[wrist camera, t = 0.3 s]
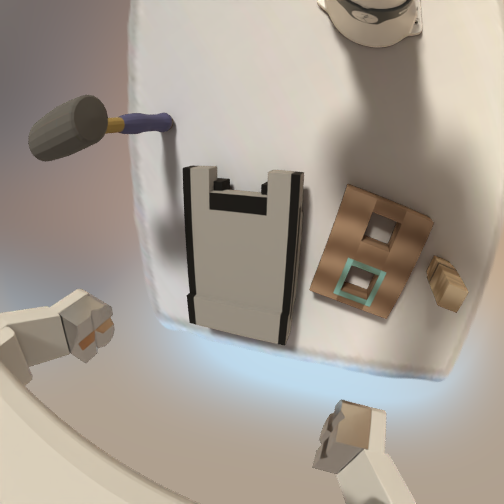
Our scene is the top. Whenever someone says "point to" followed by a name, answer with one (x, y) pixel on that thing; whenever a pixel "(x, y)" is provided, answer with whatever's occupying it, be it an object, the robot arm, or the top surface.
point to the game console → (243, 252)
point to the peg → (446, 284)
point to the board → (370, 252)
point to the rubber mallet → (85, 127)
